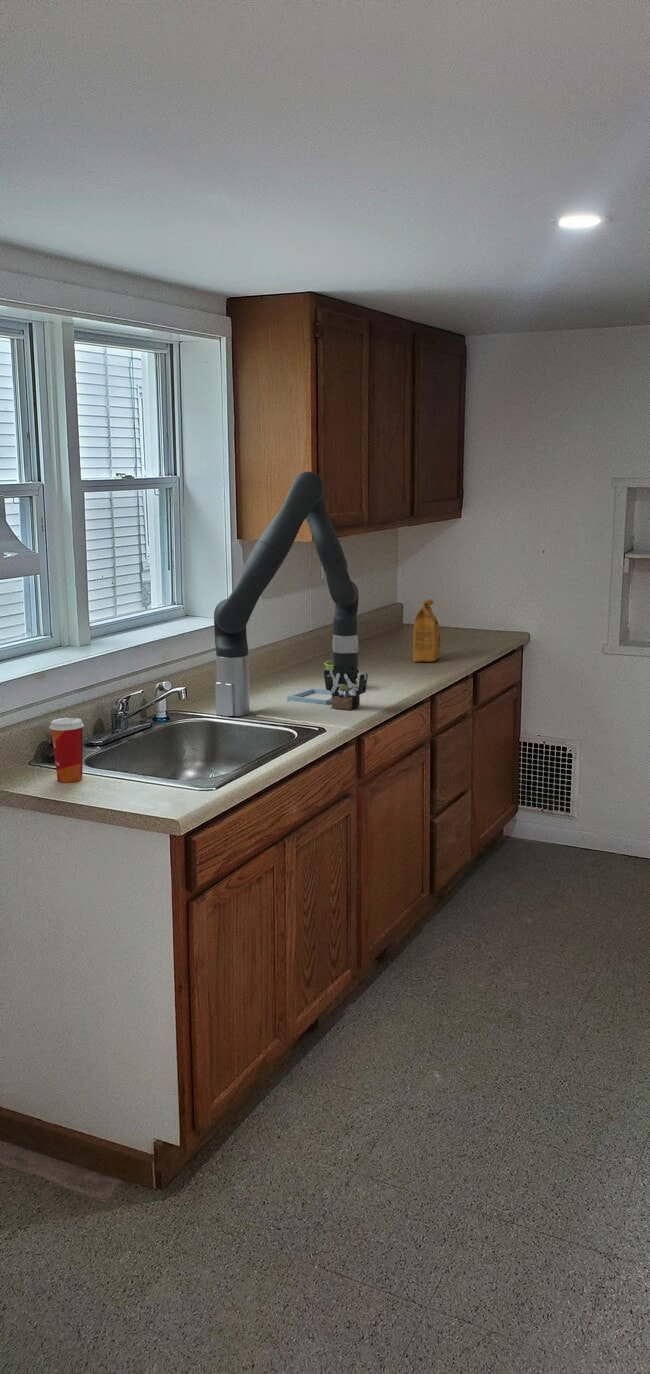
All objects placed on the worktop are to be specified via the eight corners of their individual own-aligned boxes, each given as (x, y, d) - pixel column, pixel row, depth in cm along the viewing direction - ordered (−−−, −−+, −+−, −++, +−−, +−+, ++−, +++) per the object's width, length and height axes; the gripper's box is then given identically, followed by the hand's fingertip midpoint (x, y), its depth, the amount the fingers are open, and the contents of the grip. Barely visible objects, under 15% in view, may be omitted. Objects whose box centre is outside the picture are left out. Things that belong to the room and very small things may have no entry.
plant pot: (348, 692, 348) (348, 665, 346) (320, 691, 351) (320, 664, 349) (358, 687, 356) (357, 660, 354) (330, 685, 359) (330, 659, 358)
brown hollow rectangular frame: (348, 709, 319) (348, 699, 318) (331, 707, 322) (331, 697, 322) (363, 704, 326) (363, 694, 325) (345, 702, 329) (345, 692, 328)
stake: (350, 713, 319) (349, 693, 317) (329, 710, 322) (329, 691, 321) (362, 709, 324) (362, 689, 323) (342, 706, 328) (342, 687, 327)
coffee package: (444, 658, 407) (444, 598, 402) (435, 664, 395) (436, 603, 391) (418, 657, 410) (418, 598, 406) (409, 662, 399) (409, 602, 394)
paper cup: (63, 774, 260) (60, 716, 257) (92, 776, 258) (89, 717, 255) (46, 783, 253) (42, 723, 250) (76, 785, 250) (72, 725, 248)
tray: (326, 707, 327) (326, 700, 327) (287, 702, 335) (287, 696, 334) (350, 698, 339) (350, 692, 338) (312, 694, 346) (312, 688, 346)
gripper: (317, 649, 320) (318, 706, 324) (359, 653, 313) (360, 711, 316) (331, 646, 327) (332, 701, 330) (373, 650, 319) (373, 706, 322)
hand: (345, 706), depth 323 cm, fingers closed on brown hollow rectangular frame, 6 cm apart
